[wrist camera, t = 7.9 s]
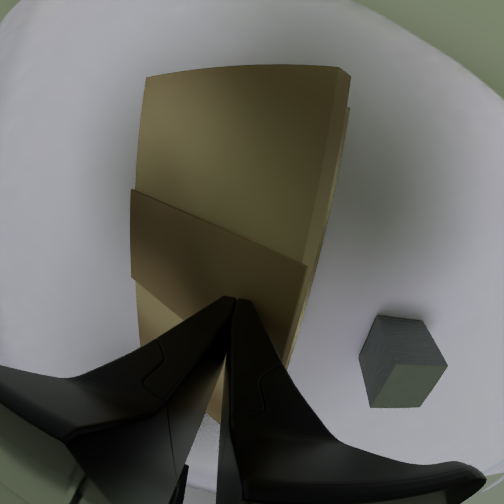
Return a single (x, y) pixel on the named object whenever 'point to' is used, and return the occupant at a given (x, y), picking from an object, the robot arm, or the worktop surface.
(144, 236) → the lid
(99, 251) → the worktop surface
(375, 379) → the block
